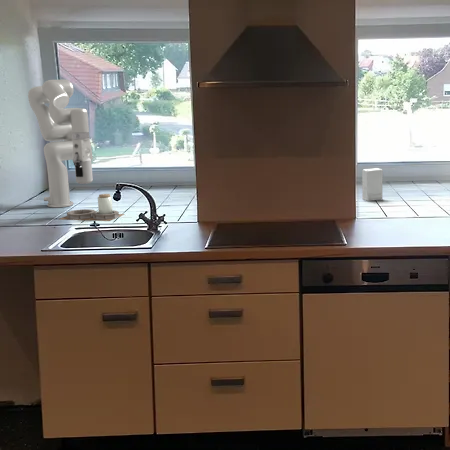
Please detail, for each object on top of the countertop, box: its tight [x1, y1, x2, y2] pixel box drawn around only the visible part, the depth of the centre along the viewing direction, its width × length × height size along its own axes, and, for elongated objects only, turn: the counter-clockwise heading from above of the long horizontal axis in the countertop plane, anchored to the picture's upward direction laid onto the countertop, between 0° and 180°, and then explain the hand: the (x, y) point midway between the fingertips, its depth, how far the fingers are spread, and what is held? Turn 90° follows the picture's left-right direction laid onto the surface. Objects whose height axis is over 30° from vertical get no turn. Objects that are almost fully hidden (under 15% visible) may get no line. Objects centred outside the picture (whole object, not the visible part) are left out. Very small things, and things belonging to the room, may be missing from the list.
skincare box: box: [361, 167, 384, 202], centre depth 320 cm, size 8×6×15 cm
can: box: [74, 157, 94, 185], centre depth 302 cm, size 8×8×12 cm
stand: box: [59, 208, 125, 222], centre depth 294 cm, size 25×15×3 cm, turn 73°
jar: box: [97, 193, 114, 214], centre depth 291 cm, size 6×6×10 cm
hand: (83, 175), depth 302 cm, fingers closed on can, 7 cm apart
